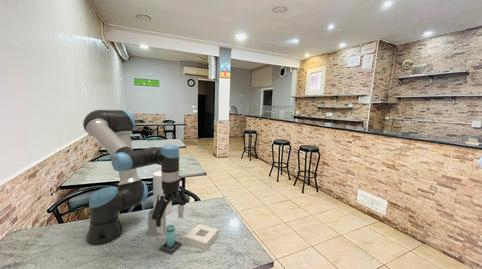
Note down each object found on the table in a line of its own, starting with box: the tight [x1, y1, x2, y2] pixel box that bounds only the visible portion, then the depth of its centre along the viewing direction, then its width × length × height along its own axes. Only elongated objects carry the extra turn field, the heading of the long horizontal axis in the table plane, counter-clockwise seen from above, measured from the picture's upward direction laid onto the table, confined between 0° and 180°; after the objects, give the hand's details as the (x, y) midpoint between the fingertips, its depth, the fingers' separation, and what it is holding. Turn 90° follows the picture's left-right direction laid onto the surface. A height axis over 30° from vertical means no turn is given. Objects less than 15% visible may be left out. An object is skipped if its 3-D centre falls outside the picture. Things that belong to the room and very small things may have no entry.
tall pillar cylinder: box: [152, 170, 173, 216], centre depth 126 cm, size 11×11×25 cm
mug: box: [147, 208, 167, 236], centre depth 107 cm, size 12×8×11 cm
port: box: [184, 223, 220, 251], centre depth 100 cm, size 12×12×4 cm
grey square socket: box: [157, 240, 184, 256], centre depth 94 cm, size 8×8×2 cm
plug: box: [166, 224, 176, 249], centre depth 93 cm, size 4×4×10 cm
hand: (171, 224), depth 92 cm, fingers open, 13 cm apart
